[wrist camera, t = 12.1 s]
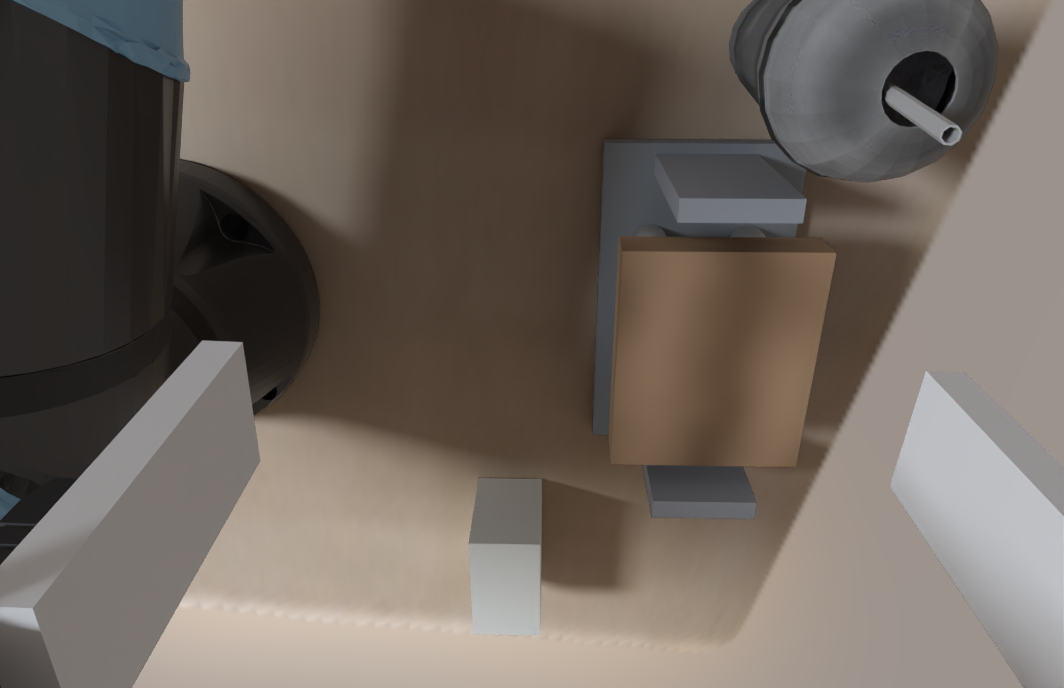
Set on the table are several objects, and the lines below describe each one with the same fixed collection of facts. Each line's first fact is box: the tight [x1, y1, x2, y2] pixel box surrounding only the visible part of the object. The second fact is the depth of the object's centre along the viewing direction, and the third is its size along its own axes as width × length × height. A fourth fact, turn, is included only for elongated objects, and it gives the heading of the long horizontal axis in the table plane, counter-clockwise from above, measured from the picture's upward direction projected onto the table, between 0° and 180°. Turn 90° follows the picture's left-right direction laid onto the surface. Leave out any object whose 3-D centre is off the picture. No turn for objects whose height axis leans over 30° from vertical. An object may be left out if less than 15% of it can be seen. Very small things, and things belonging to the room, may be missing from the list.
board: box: [608, 236, 837, 467], centre depth 35 cm, size 9×11×2 cm
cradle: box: [592, 139, 807, 519], centre depth 37 cm, size 10×17×9 cm, turn 0°
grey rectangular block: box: [469, 478, 542, 635], centre depth 46 cm, size 4×7×6 cm, turn 0°
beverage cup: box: [729, 0, 998, 183], centre depth 27 cm, size 7×7×20 cm
